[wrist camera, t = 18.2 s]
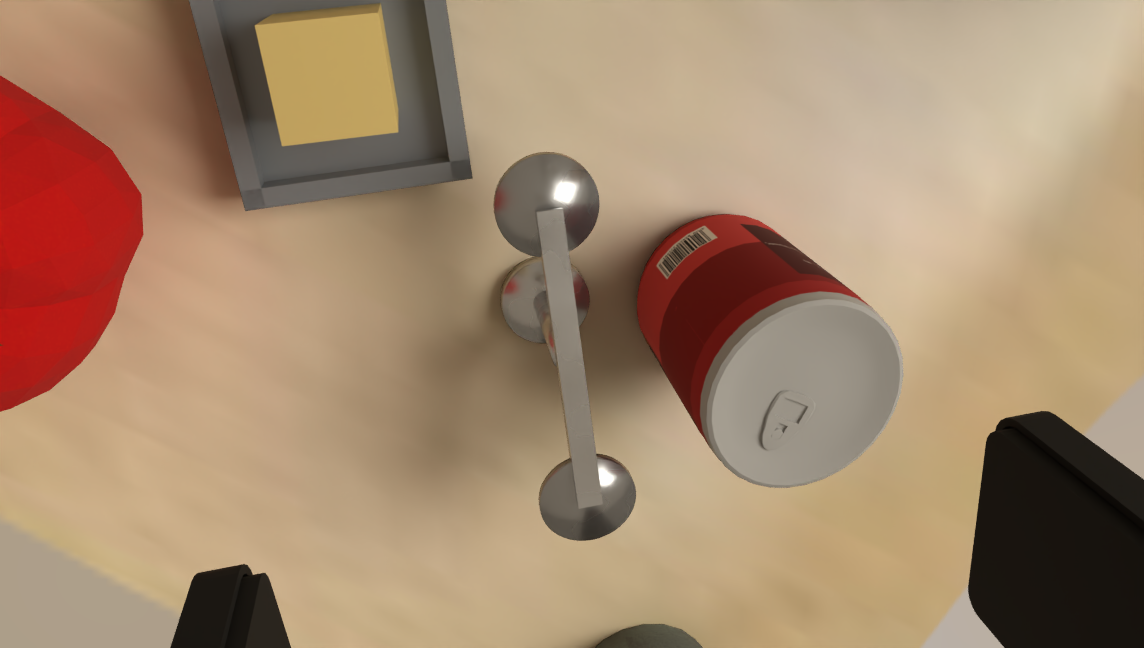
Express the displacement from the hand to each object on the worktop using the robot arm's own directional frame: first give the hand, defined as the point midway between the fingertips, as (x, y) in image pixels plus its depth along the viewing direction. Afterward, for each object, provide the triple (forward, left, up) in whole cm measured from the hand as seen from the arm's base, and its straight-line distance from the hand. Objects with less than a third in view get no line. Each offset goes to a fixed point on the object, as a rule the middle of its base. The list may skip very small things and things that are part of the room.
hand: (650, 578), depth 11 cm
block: (-4, -5, -27) cm, 28 cm away
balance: (+8, +2, -28) cm, 29 cm away
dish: (-3, -5, -28) cm, 29 cm away
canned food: (+9, +10, -28) cm, 32 cm away
